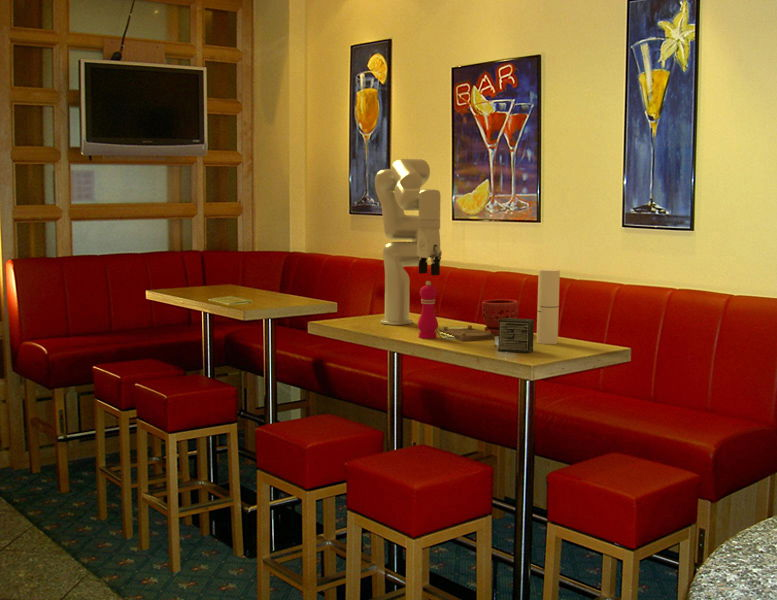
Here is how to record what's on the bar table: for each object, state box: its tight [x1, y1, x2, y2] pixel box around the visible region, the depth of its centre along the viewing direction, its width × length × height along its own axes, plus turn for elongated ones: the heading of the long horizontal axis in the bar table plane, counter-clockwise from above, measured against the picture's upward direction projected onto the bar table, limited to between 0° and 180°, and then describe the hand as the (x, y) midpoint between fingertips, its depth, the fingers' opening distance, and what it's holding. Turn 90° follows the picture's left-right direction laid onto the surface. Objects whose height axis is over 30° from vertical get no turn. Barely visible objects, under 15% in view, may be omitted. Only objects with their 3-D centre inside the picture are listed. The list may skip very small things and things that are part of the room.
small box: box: [497, 318, 535, 354], centre depth 304 cm, size 11×6×10 cm, turn 69°
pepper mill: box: [417, 280, 439, 340], centre depth 330 cm, size 7×7×20 cm
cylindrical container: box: [536, 268, 561, 345], centre depth 321 cm, size 7×7×25 cm
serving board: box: [439, 324, 496, 342], centre depth 333 cm, size 17×13×3 cm
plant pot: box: [481, 298, 519, 336], centre depth 342 cm, size 13×13×12 cm
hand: (428, 274), depth 328 cm, fingers open, 9 cm apart
